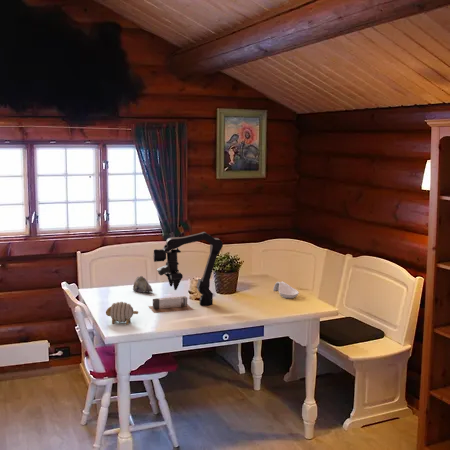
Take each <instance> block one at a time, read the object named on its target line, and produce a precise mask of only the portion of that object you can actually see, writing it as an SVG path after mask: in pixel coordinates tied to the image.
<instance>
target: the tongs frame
mask: <svg viewBox="0 0 450 450" xmlns="http://www.w3.org/2000/svg"><path fill="white" fill-rule="evenodd" d="M181 297H184V306H185V307H186V306H187V304H188V297H187V296H186V295H185V296H175V297H174V296H172V297H171V296H170V297H158V298H152V301H153V300H156V299H169V298H181ZM152 306H153V308H154V303H153V302H152Z"/></svg>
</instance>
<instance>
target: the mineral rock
mask: <svg viewBox="0 0 450 450" xmlns="http://www.w3.org/2000/svg"><path fill="white" fill-rule="evenodd" d="M132 287H133V288H132V290H133V292H137V293H138V292H139V293H153V291H154V290H153V288H152V286H151V285H150V283H149V282H148V279H146V278H145V277H144V276H142V275H141V276H136V279H135V280H134V283H133V286H132Z"/></svg>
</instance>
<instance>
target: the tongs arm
mask: <svg viewBox="0 0 450 450" xmlns="http://www.w3.org/2000/svg"><path fill="white" fill-rule="evenodd" d="M180 297H181V298H170V297H168V298H169V299H157V298H155V299H156V300H153V299H152V304H153V303H154V309H162V308H174V307H184V297H183V296H180Z"/></svg>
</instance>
